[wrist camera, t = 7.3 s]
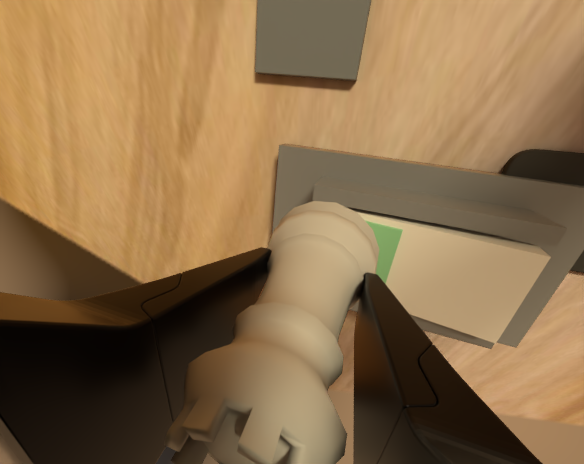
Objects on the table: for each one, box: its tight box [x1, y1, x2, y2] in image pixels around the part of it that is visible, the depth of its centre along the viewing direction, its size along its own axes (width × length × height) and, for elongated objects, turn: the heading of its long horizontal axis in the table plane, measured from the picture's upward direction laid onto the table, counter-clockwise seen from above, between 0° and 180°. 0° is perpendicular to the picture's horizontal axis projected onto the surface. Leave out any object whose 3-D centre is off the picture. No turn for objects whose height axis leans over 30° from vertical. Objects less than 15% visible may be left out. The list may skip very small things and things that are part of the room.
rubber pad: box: [255, 0, 371, 81], centre depth 15 cm, size 7×7×1 cm
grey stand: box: [272, 144, 584, 349], centre depth 17 cm, size 20×12×4 cm, turn 83°
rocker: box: [345, 206, 551, 343], centre depth 16 cm, size 12×6×2 cm, turn 83°
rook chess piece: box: [164, 201, 379, 464], centre depth 7 cm, size 4×4×8 cm
